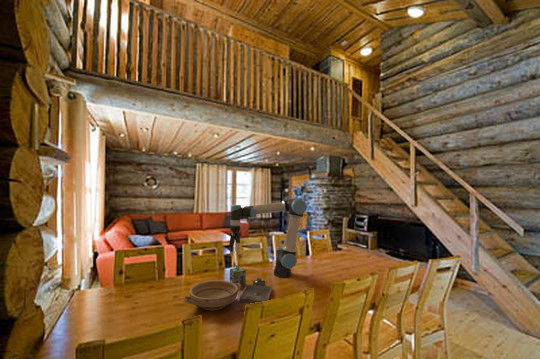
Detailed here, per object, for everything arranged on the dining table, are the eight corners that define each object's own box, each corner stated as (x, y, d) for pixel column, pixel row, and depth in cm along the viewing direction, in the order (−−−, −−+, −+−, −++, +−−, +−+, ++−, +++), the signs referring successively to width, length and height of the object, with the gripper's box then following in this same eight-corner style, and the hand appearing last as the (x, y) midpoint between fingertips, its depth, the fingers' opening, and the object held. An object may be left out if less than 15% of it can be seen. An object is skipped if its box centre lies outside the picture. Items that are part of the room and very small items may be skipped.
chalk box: (245, 286, 178) (246, 265, 179) (234, 288, 173) (234, 267, 174) (240, 282, 186) (241, 262, 187) (229, 284, 181) (229, 264, 182)
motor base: (247, 287, 176) (247, 275, 177) (272, 289, 174) (272, 277, 174) (239, 301, 154) (239, 288, 154) (267, 304, 151) (268, 290, 152)
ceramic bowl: (192, 326, 125) (193, 306, 125) (174, 305, 147) (175, 288, 147) (252, 306, 148) (252, 289, 149) (228, 290, 170) (229, 275, 171)
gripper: (235, 223, 199) (234, 249, 198) (225, 227, 174) (224, 257, 173) (244, 223, 198) (243, 250, 197) (235, 228, 173) (234, 258, 172)
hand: (234, 253), depth 185 cm, fingers open, 13 cm apart
